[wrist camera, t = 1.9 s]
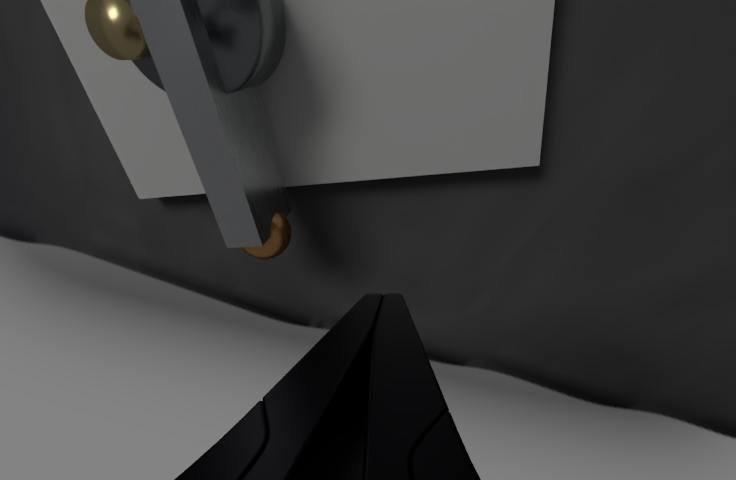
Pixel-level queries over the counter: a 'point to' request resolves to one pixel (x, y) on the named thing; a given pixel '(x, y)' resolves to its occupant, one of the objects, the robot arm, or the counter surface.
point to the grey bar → (213, 99)
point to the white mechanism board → (351, 92)
